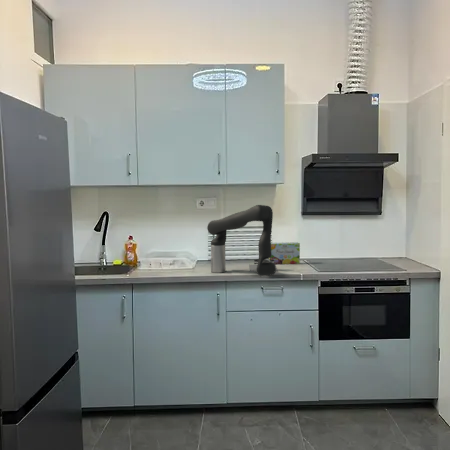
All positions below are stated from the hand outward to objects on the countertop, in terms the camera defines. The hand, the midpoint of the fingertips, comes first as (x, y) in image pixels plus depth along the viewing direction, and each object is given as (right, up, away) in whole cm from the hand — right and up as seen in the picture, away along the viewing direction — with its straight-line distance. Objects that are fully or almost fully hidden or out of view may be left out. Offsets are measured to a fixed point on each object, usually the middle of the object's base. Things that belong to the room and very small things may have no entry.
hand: (263, 259), depth 270 cm
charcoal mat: (+1, -7, +13) cm, 15 cm away
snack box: (+18, -6, +33) cm, 38 cm away
